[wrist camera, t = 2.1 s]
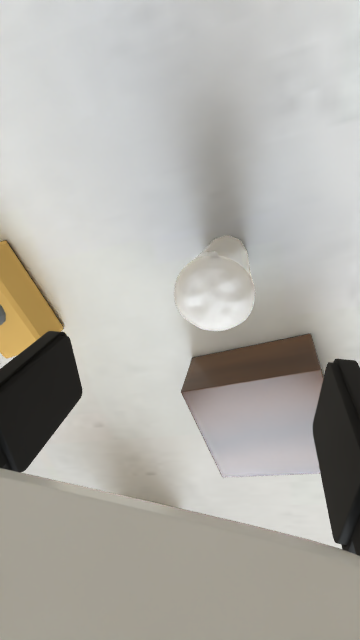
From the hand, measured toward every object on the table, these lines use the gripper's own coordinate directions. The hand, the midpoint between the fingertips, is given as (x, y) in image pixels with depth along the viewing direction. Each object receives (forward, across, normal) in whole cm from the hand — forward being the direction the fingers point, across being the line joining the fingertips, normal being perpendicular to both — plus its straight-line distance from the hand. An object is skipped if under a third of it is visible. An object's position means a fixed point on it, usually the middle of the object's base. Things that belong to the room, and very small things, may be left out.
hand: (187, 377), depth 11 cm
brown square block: (+15, -4, +13) cm, 21 cm away
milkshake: (+15, 0, -1) cm, 15 cm away
